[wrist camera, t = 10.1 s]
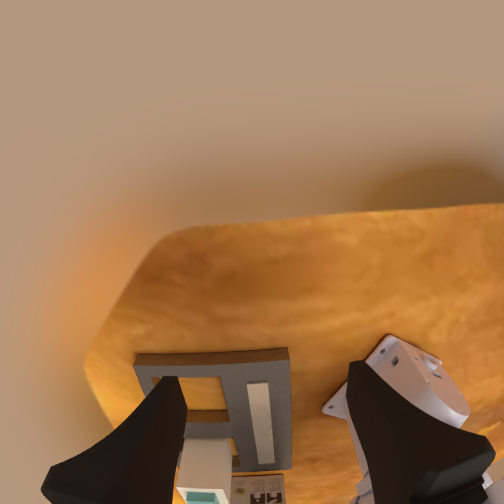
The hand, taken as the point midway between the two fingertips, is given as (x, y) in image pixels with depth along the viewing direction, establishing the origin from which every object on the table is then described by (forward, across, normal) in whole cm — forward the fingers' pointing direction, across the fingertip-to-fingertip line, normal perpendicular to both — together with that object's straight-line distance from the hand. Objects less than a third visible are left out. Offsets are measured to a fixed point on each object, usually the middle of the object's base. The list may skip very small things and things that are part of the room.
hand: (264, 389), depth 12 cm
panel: (+10, +4, +13) cm, 17 cm away
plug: (+10, +6, +17) cm, 21 cm away
